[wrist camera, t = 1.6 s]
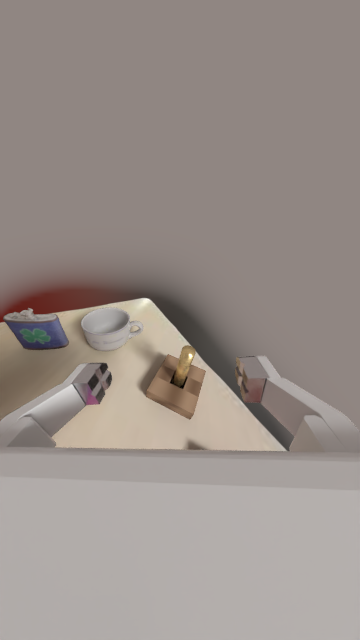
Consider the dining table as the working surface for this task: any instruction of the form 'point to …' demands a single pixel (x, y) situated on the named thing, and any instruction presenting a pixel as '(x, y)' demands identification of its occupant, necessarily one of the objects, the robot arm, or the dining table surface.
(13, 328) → the flask
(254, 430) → the dining table surface
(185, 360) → the pin
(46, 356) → the dining table surface
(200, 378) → the pin block
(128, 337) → the teacup
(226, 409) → the dining table surface
